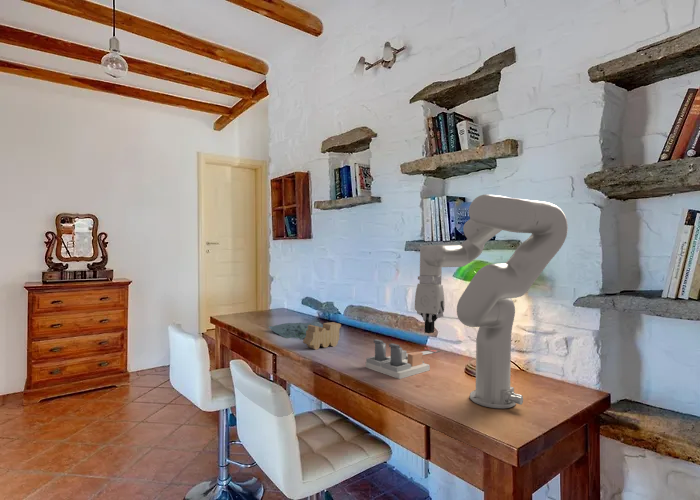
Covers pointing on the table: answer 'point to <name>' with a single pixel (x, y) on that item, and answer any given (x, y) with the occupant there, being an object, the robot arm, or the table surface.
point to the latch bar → (415, 358)
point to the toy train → (322, 335)
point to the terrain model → (293, 329)
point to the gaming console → (426, 352)
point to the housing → (383, 365)
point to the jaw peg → (396, 355)
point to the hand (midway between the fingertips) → (429, 332)
